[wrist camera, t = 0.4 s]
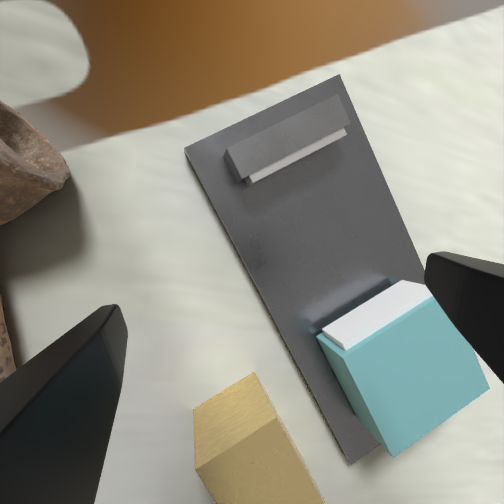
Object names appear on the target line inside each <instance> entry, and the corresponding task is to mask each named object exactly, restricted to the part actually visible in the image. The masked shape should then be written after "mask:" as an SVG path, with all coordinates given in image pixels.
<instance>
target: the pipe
mask: <svg viewBox="0 0 504 504" xmlns="http://www.w3.org/2000/svg"><path fill="white" fill-rule="evenodd" d="M70 175H71V174H70V171H69V169H68V167H67V165H66V163H65V160H64V158H63V157H62V155H61V154H60V153H59V151H58V150H57V149H56V148H55V147H54V146H53V145H52V144H51V143H50V142H49V141H48V140H47V139H46V138H45V137H44V136H43V135H42V134H41V133H40V132H38V131H37V130H36V129H35V128H34V127H33V126H32V125H31V124H30V123H29V122H28V121H27V120H26V119H24V118H23V117H22V116H21V115H20V114H19V113H18V112H16V111H14V110H13V109H12V108H10V107H9V106H7V105H6V104H4V103H3V102H1V101H0V225H3V224H5V223H7V222H9V221H11V220H13V219H15V218H16V217H18V216H20V215H21V214H23V213H24V212H26V211H27V210H29V209H30V208H32V207H33V206H34V205H36V204H37V203H38V202H39V201H41V200H42V199H43V198H44V197H45V196H47V195H48V194H49V193H51V192H53V191H57V190H60V189H61V188H63V185H64V182H65V180H66V179H68V178H69V176H70ZM15 371H16V367H15V363H14V359H13V353H12V347H11V342H10V339H9V335H8V331H7V327H6V324H5V319H4V312H3V306H2V300H1V295H0V382H1V381H3V380H4V379H5V378H7V377H8V376H9V375H11V374H12V373H13V372H15Z"/></svg>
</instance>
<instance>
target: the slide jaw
mask: <svg viewBox="0 0 504 504" xmlns="http://www.w3.org/2000/svg"><path fill="white" fill-rule="evenodd" d="M322 330H323V332H322V333H321V334H319V335H317V336H316V337H317V339H318V341H319V343H320V345H321V347H322V349H323V351H324V353H325V355H326V357H327V359H328V361H329V363H330V365H331V367H332V369H333V371H334V373H335V375H336V377H337V379H338V381H339V383H340V385H341V387H342V388H343V390H344V392H345V394H346V396H347V398H348V400H349V402H350V404H351V406H352V408H353V410H354V412H355V414H356V416H357V418H358V420H359V421H360V422H361V423H362V425H363V426H364V427H365V428H366V429H367V430H368V431H369V432H370V433H371V434H372V436H373V437H374V438H375V439H376V440H377V441H378V442H379V443H380V444H381V445H382V446H383V448H384V449H385V450H386V451H387V452H388V453H389V454H390V455H391V456H392V457H395V456H396V455H398V454H399V453H400V452H402V451H403V450H405V449H406V448H407V447H409V446H410V445H412V444H413V443H414V442H416V441H417V440H419V439H420V438H421V437H423V436H424V435H426V434H427V433H428V432H430V431H431V430H433V429H434V428H435V427H437V426H438V425H440V424H441V423H442V422H444V421H445V420H446V419H448V418H449V417H451V416H452V415H453V414H455V413H456V412H458V411H459V410H460V409H462V408H463V407H465V406H466V405H467V404H469V403H470V402H472V401H473V400H474V399H476V398H477V397H479V396H480V395H481V394H483V393H484V392H486V391H487V390H488V389H490V388H489V385H488V383H487V381H486V378H485V376H484V374H483V371H482V369H481V366H480V364H479V362H478V359H477V357H476V355H475V352H474V350H473V348H472V346H471V345H470V344H469V343H468V342H467V341H466V339H465V338H464V337H463V336H462V335H461V334H460V332H459V331H458V330H457V329H456V327H455V326H454V325H453V324H452V322H451V321H450V320H449V318H448V317H447V315H446V314H445V312H444V311H443V310H442V308H441V307H440V305H439V304H438V302H437V301H436V300H435V298H434V297H433V295H432V294H431V292H430V291H429V290H428V288H427V287H426V285H423V284H419V283H414V282H410V281H405V280H401V281H399V282H397V283H396V284H394V285H393V286H391V287H389V288H388V289H386V290H384V291H383V292H381V293H380V294H378V295H376V296H375V297H373V298H371V299H370V300H368V301H367V302H365V303H363V304H362V305H360V306H358V307H357V308H355V309H354V310H352V311H350V312H349V313H347V314H345V315H344V316H342V317H340V318H339V319H337V320H336V321H334V322H332V323H331V324H329V325H327V326H326V327H324V328H323V329H322Z"/></svg>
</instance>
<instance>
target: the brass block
mask: <svg viewBox="0 0 504 504" xmlns="http://www.w3.org/2000/svg"><path fill="white" fill-rule="evenodd" d="M193 413H194V444H195V470H196V472H197V473H198V475H199V477H200V478H201V480H202V481H203V483H204V485H205V486H206V488H207V489H208V491H209V493H210V494H211V496H212V498H213V499H214V501H215V502H216V504H326V503H325V501H324V499H323V497H322V496H321V494H320V492H319V490H318V488H317V486H316V484H315V482H314V480H313V478H312V476H311V474H310V472H309V470H308V468H307V466H306V464H305V462H304V460H303V458H302V456H301V454H300V453H299V451H298V449H297V447H296V445H295V444H294V442H293V440H292V438H291V436H290V435H289V433H288V431H287V429H286V427H285V426H284V424H283V422H282V420H281V418H280V417H279V415H278V413H277V411H276V409H275V408H274V406H273V404H272V402H271V400H270V399H269V397H268V395H267V393H266V391H265V390H264V388H263V386H262V384H261V382H260V381H259V379H258V377H257V375H256V373H255V372H253V373H251V374H249V375H248V376H246V377H245V378H243V379H241V380H240V381H238V382H236V383H235V384H233V385H232V386H230V387H228V388H227V389H225V390H223V391H222V392H220V393H219V394H217V395H215V396H214V397H212V398H210V399H209V400H207V401H206V402H204V403H202V404H201V405H199V406H197V407H196V408H194V409H193Z"/></svg>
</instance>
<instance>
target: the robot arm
mask: <svg viewBox="0 0 504 504" xmlns="http://www.w3.org/2000/svg"><path fill="white" fill-rule="evenodd" d="M424 282H425V285H426V287H427V288H428V290H429V291H430V292H431V294H432V295H433V297H434V298H435V300H436V301H437V302H438V304H439V305H440V307H441V308H442V310H443V311H444V312H445V314H446V315H447V317H448V318H449V320H450V321H451V322H452V324H453V325H454V326H455V327H456V329H457V330H458V331H459V332H460V334H461V335H462V336H463V337H464V338H465V339H466V341H467V342H468V343H469V344H470V345H471V346H472V348H473V349H474V350H475V351H476V352H477V353H478V354H479V356H480V357H481V358H482V359H483V360H484V361H485V363H486V364H487V365H488V366H489V367H490V368H491V370H492V371H493V372H494V373H495V374H496V375H497V377H498V378H499V379H500V380H501V381H502V382H503V384H504V264H500V263H495V262H490V261H486V260H481V259H477V258H472V257H468V256H463V255H458V254H454V253H449V252H444V251H443V252H436V253H431V254H430V255H429V256H428V257H427V262H426V268H425V274H424ZM127 338H128V331H127V326H126V323H125V321H124V318H123V315H122V312H121V309H120V307H119V306H118V305H117V304H112V305H106V306H101V307H100V308H99V309H97V310H96V311H95V312H93V313H92V314H91V315H89V316H88V317H87V318H85V319H84V320H83V321H81V322H80V323H79V324H77V325H76V326H75V327H73V328H72V329H71V330H69V331H68V332H67V333H65V334H64V335H63V336H61V337H60V338H59V339H57V340H56V341H55V342H53V343H52V344H51V345H49V346H48V347H47V348H45V349H44V350H43V351H41V352H40V353H39V354H37V355H36V356H35V357H33V358H32V359H31V360H29V361H28V362H27V363H25V364H24V365H23V366H21V367H20V368H19V369H17V370H16V371H15V372H13V373H12V374H11V375H9V376H8V377H7V378H5V379H4V380H3V381H1V382H0V504H94V502H95V498H96V493H97V489H98V485H99V481H100V477H101V472H102V468H103V464H104V460H105V456H106V452H107V447H108V443H109V439H110V435H111V431H112V426H113V422H114V418H115V414H116V410H117V405H118V401H119V397H120V393H121V388H122V381H123V374H124V365H125V356H126V347H127Z"/></svg>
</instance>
